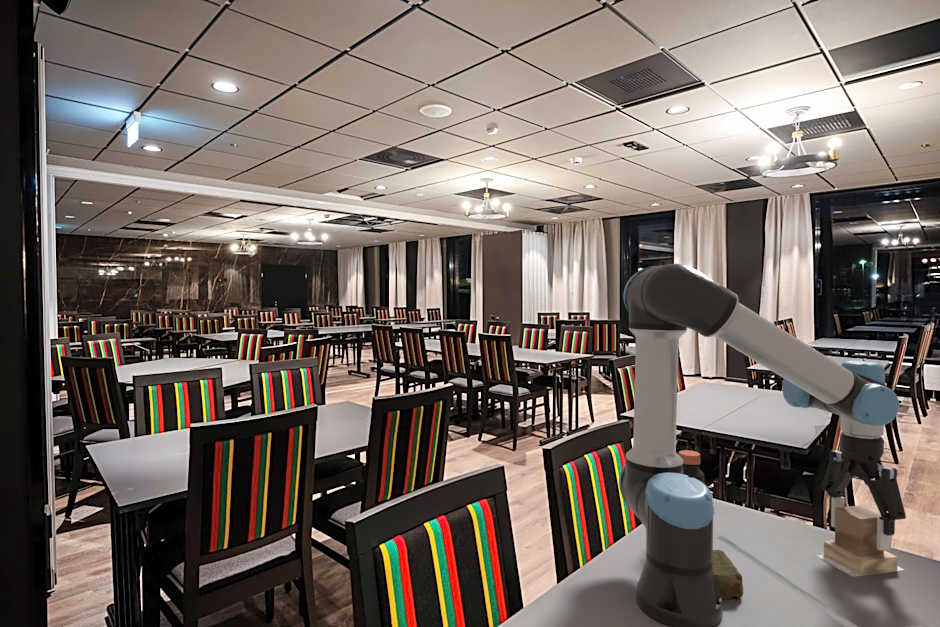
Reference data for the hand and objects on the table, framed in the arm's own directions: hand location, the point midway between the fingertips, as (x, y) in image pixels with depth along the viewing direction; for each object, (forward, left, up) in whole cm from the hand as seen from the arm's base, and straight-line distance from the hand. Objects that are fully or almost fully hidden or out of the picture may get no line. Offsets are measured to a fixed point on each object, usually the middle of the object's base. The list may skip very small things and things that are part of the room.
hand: (859, 537), depth 114 cm
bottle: (-26, +22, -7) cm, 35 cm away
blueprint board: (0, 0, -7) cm, 7 cm away
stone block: (-34, 0, -7) cm, 35 cm away
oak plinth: (0, 0, -6) cm, 6 cm away
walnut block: (0, 0, -3) cm, 3 cm away
